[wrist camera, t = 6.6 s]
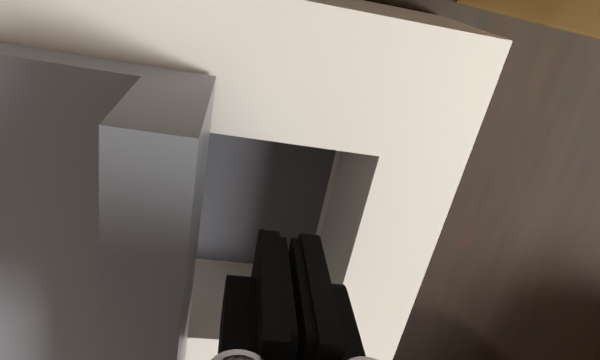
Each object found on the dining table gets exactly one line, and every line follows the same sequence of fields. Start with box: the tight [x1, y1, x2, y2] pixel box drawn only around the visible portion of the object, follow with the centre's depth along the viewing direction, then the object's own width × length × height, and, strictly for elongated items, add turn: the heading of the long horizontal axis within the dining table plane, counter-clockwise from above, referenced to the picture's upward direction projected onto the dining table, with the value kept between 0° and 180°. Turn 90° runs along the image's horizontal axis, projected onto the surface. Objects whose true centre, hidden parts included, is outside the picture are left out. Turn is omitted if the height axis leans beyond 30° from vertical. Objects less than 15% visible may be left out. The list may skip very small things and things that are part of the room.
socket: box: [0, 0, 512, 360], centre depth 15 cm, size 20×14×5 cm
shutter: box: [0, 42, 216, 360], centre depth 10 cm, size 8×10×4 cm
